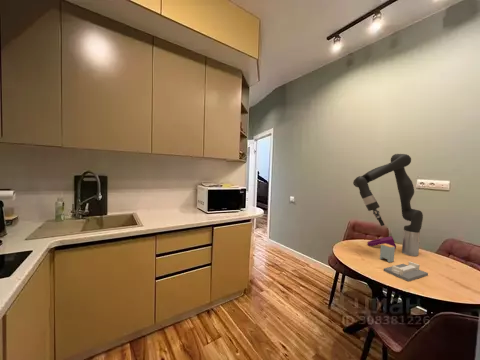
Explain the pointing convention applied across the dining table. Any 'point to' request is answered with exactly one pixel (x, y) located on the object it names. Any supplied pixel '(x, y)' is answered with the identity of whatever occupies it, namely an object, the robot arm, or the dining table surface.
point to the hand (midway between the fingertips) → (382, 225)
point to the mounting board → (409, 274)
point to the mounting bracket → (382, 241)
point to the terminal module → (387, 252)
